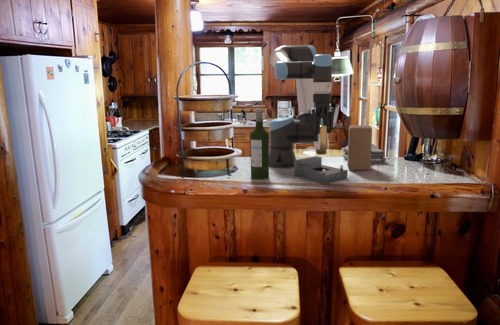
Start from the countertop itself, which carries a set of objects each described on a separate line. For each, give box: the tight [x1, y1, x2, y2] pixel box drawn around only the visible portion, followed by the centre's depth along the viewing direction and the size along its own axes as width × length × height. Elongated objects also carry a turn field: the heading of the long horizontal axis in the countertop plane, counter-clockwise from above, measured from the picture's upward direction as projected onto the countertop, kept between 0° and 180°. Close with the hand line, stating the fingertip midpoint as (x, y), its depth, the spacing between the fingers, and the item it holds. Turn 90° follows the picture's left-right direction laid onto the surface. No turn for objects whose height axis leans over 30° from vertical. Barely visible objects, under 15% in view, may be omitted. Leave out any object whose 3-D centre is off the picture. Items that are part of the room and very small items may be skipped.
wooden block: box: [347, 124, 373, 172], centre depth 186 cm, size 10×10×20 cm
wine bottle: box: [249, 107, 270, 180], centre depth 171 cm, size 8×8×30 cm
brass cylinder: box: [315, 125, 328, 156], centre depth 169 cm, size 4×4×12 cm
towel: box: [342, 143, 387, 164], centre depth 205 cm, size 15×18×8 cm
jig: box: [293, 155, 349, 184], centre depth 172 cm, size 18×14×7 cm
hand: (321, 148), depth 170 cm, fingers closed on brass cylinder, 4 cm apart
